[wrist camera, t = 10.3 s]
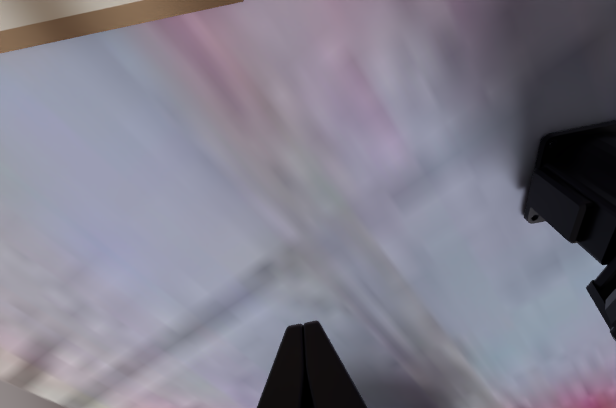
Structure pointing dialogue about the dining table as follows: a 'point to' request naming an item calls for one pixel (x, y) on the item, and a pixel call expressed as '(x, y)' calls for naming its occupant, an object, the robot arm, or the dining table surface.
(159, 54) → the dining table surface
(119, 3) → the picture frame
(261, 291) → the dining table surface
